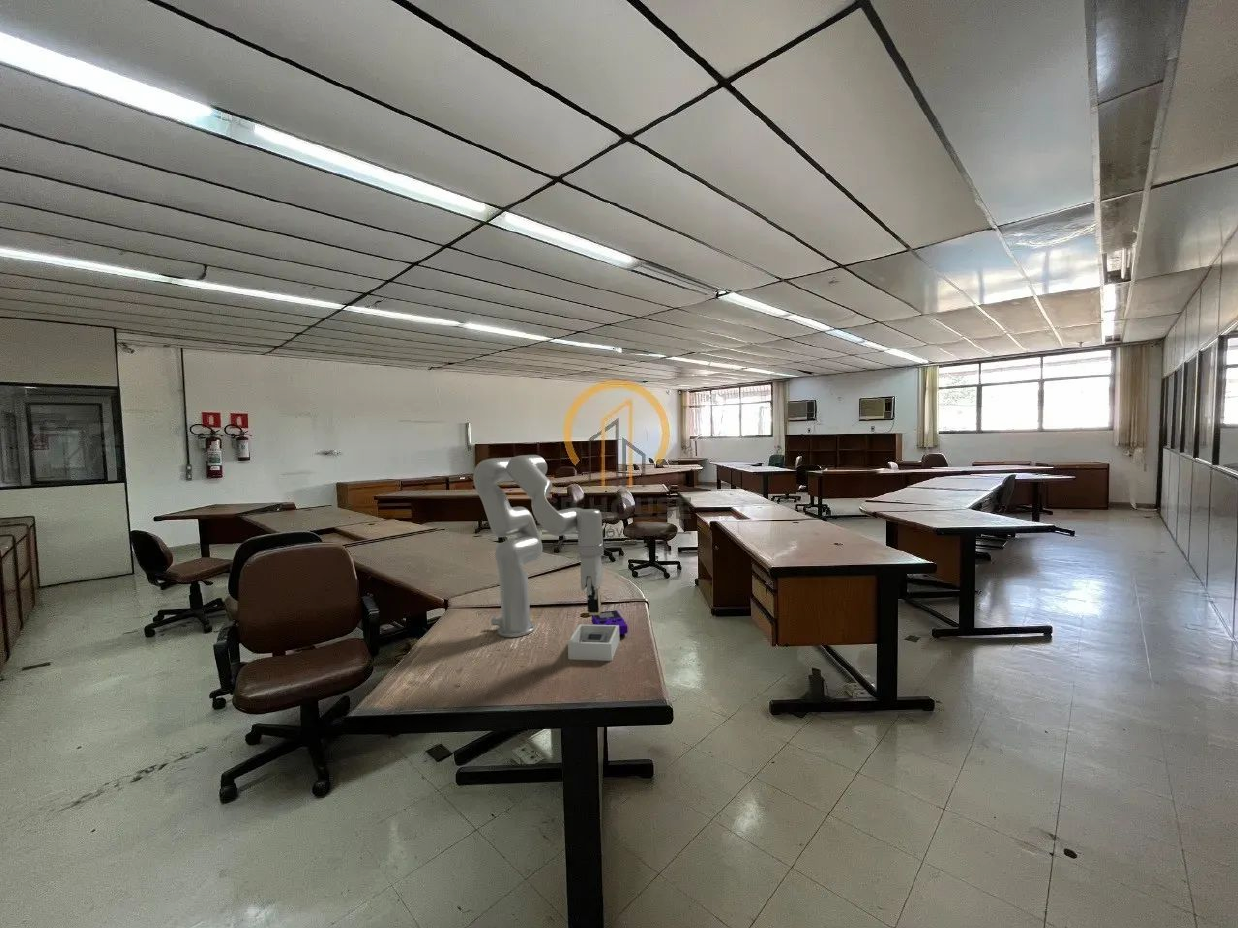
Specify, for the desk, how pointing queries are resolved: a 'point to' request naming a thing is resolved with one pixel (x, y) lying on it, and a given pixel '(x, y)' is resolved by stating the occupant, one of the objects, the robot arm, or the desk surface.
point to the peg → (598, 602)
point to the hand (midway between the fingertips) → (594, 609)
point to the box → (594, 642)
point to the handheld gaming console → (610, 620)
